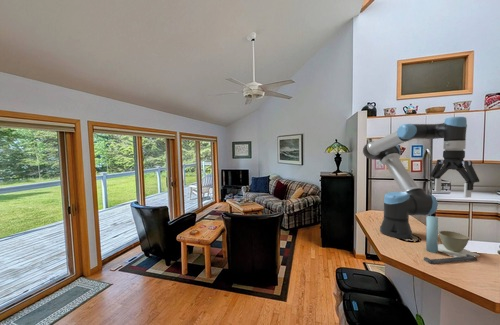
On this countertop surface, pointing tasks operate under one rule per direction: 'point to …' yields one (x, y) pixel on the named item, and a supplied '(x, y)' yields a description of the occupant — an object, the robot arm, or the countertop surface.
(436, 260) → the rail
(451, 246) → the beige bowl
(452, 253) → the coaster
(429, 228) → the dowel
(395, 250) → the countertop surface
